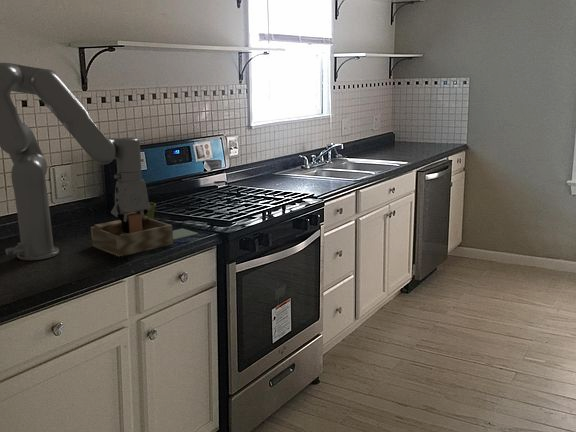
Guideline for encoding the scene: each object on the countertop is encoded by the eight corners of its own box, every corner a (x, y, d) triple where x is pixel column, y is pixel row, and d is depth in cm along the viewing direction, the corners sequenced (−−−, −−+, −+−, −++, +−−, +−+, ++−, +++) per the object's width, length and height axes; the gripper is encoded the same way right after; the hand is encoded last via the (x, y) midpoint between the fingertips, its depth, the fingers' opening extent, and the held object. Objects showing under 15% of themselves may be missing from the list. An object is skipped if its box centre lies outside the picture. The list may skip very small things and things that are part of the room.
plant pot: (146, 223, 247) (144, 200, 245) (162, 226, 241) (161, 203, 239) (126, 228, 240) (124, 205, 238) (142, 232, 234) (140, 208, 232)
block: (130, 234, 212) (129, 216, 210) (123, 231, 215) (122, 213, 213) (142, 231, 215) (141, 214, 213) (135, 229, 218) (134, 211, 216)
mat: (174, 240, 222) (174, 238, 222) (158, 234, 230) (158, 233, 229) (198, 234, 229) (198, 233, 229) (182, 229, 236) (182, 228, 236)
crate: (119, 256, 204) (117, 234, 203) (92, 246, 217) (90, 224, 216) (173, 244, 217) (171, 222, 216) (145, 234, 230) (143, 214, 229)
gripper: (111, 181, 202) (115, 238, 206) (158, 174, 213) (161, 229, 217) (100, 178, 208) (103, 233, 212) (146, 172, 219) (149, 225, 223)
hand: (133, 230), depth 215 cm, fingers closed on block, 4 cm apart
